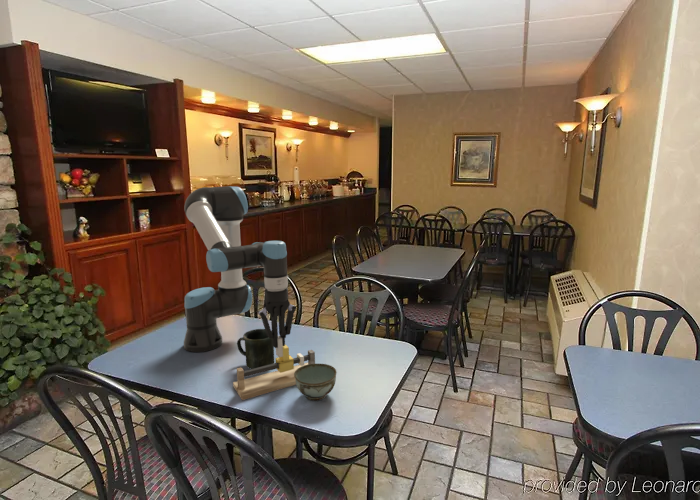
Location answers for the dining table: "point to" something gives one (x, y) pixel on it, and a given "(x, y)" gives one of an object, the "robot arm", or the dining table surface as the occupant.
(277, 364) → the rod
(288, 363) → the sleeve
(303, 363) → the band
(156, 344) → the dining table surface
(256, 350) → the mug
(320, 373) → the bowl
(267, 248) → the robot arm
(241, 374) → the wooden slider rail
